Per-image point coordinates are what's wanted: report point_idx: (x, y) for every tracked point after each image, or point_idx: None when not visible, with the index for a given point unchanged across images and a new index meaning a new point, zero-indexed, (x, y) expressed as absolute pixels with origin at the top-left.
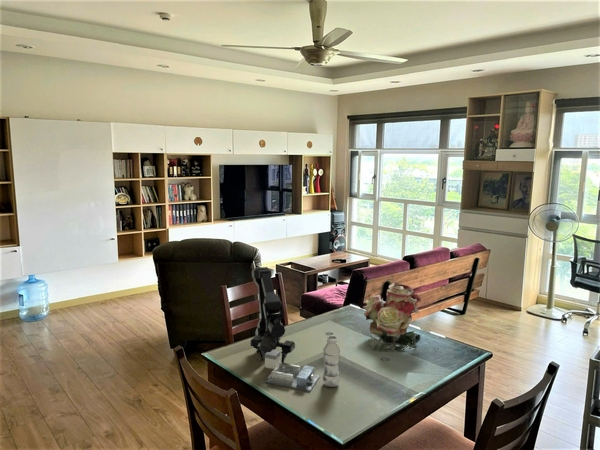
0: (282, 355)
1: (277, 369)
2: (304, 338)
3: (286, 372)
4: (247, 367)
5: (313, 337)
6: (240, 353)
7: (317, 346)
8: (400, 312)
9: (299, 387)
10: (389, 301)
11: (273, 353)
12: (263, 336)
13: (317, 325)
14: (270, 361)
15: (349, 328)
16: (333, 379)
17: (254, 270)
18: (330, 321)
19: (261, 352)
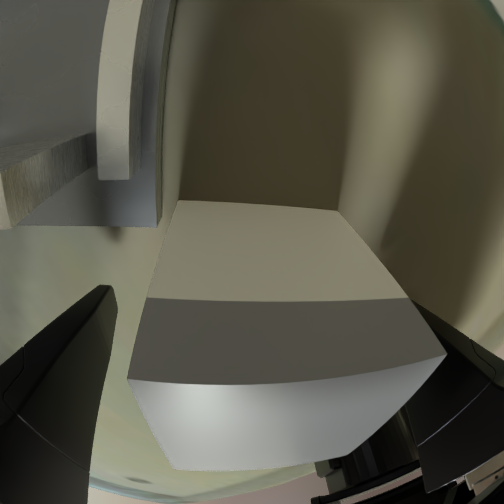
0: (10, 398)
1: (106, 142)
2: (196, 474)
3: (1, 146)
4: (483, 168)
5: (169, 476)
6: (482, 327)
7: (113, 454)
8: None
9: None
10: None
11: (258, 436)
12: (415, 502)
13: (197, 492)
14: (278, 261)
15: (111, 482)
16: None
17: None
18: (175, 495)
19: (467, 367)
